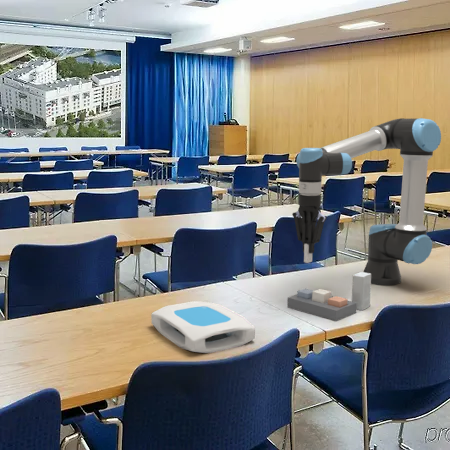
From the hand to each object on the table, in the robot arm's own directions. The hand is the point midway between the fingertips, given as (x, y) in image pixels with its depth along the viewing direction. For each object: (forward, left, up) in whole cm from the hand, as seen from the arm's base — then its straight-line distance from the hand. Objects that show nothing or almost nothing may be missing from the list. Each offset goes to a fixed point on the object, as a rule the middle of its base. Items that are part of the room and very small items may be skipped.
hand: (308, 261), depth 207 cm
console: (0, +6, -16) cm, 17 cm away
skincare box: (-12, +14, -16) cm, 25 cm away
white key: (0, +6, -13) cm, 15 cm away
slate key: (0, 0, -15) cm, 15 cm away
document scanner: (+45, -6, -16) cm, 48 cm away
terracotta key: (0, +13, -15) cm, 19 cm away
